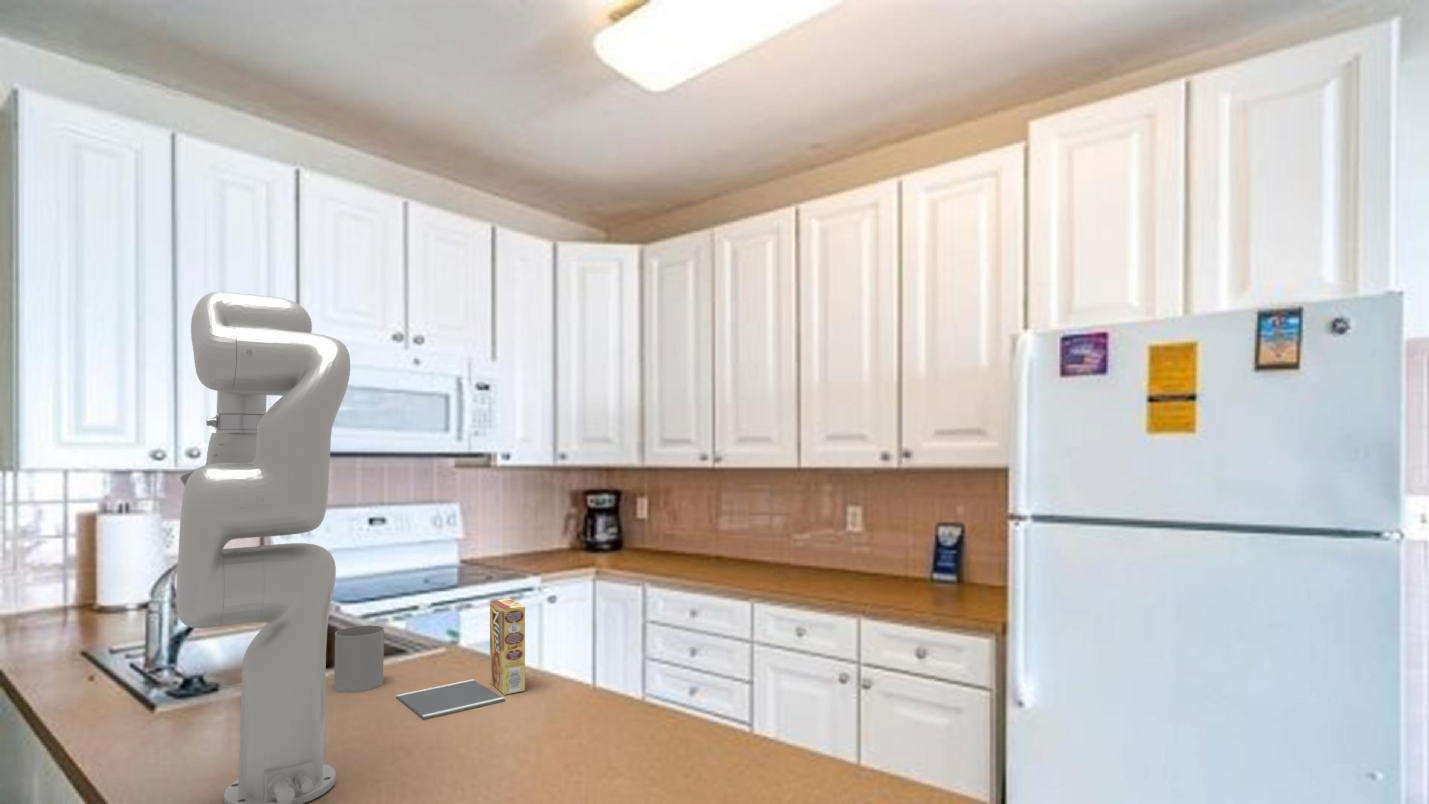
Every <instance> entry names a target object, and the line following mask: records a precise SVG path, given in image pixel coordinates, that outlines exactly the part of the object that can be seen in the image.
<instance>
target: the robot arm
mask: <svg viewBox="0 0 1429 804" xmlns="http://www.w3.org/2000/svg"><path fill="white" fill-rule="evenodd" d="M191 316H192V317H191V320H190V321H191V322H190V336H191V345H192V350H193V360H194V367H195V373H196V376H197V378H198V380H199V381H200V383H201V384H202V385H203V386H204V387H206V388H207V389H209V390H212V391H216V392H217V394H216V415H215V416H214V417H210V418H209V417H207V418H206V421H205V422H206V423H205V424H206V426H207V427H212V428H214V429H215V432H211V434H210V438H209V442H208V447H207V453H206V461H205V465H202V466H200V467H198V468H196V469H193V470H191V471H189V472H186V473H184V474H182V475H181V476H180V477H179V479H180V481H181V483H182V484H183V486H184V489H183V493H182V499H181V507H180V518H179V519H180V522H179V539H178V556H177V559H178V560H177V572H176V573H177V575H176V591H175V594H176V596H175V598H176V599H175V600H176V601H175V602H176V610H177V615H178V617H179V619H180V621H181V623H182V624H184V625H185V626H187V627H189V628H192V629H210V628H220V627H221V628H222V627H227V626H235V625H242V624H243V625H244V624H251V623H265V622H266V623H265V624H264V625H263V627H262V628H261V629H260V631H258V633H257V634H256V635H255V637H254V638H252V640H251V642H250V643H249V645H248V646H247V648H246V649H245V652H244V655H243V657H242V658H243V659H242V665H241V669H242V670H241V692H240V693H241V696H240V697H241V699H240V728H239V734H240V735H239V758H238V759H239V761H238V762H239V763H238V778H237V779H236V780H235V781H233V782H232V783H231V784H229V785H228V786H227V787H226V789H225V790H224V792H223V804H306V803H308V802H311V801H313V800H316V799H317V798H319V797H321V796H323V795H324V794H326V793H327V792H328V791H329V790H331V788H333V787H334V786H335V783H336V781H337V778H336V777H337V776H336V775H337V772H336V770H335V768H334V767H332V766H331V765H329V764H326V763H324V742H325V741H324V740H325V709H326V708H325V707H326V706H325V705H326V700H325V699H326V671H327V670H326V669H327V668H326V665H327V640H328V639H327V638H328V624H329V617H330V610H331V604H332V599H333V594H334V589H335V584H336V577H337V576H336V575H337V573H336V572H337V568H336V561H335V559H334V557H333V555H332V554H331V552H330V551H329V550H328V549H327V548H324V547H322V546H320V545H317V544H313V543H303V542H298V543H297V542H293V543H291V542H289V543H277V544H267V545H266V544H265V545H264V544H263V545H257V546H247V547H244V546H243V547H232V548H225V546H226V544H228V543H230V542H231V541H232V540H237V539H238V540H239V539H248V538H249V539H250V538H251V539H252V538H268V537H278V536H280V537H281V536H291V535H298V534H305V533H308V532H311V531H314V530H316V529H318V528H319V527H320V526H321V525H322V523H323V521H324V519H325V516H326V512H327V507H328V506H327V505H328V497H329V479H330V463H331V461H330V459H331V444H332V443H331V441H332V432H333V426H334V423H335V420H336V417H337V415H338V412H339V410H340V407H341V405H342V403H343V400H344V398H345V395H346V393H347V388H348V385H349V380H350V375H351V357H350V352H349V350H348V348H347V346H346V345H345V343H343V342H342V341H340V340H339V339H336V338H335V337H333V336H332V337H331V336H328V335H324V334H319V333H314V332H313V333H312V331H313V323H312V319H311V317H310V315H309V313H308V312H307V310H306V309H305V308H304V307H303V306H302V305H300V304H299V303H297V302H295V301H293V300H290V299H288V298H283V297H278V296H270V295H269V296H268V295H258V294H249V293H239V292H232V291H231V292H228V291H212V292H209V293H207V294H205V295H203V296H202V297H201V298H200V299H199V300H198V302H197V304H196V305H195V307H194V310H193V313H192V315H191ZM267 396H276V397H277V396H279V397H280V398H279V399H278V400H277V401H276V402H275V403H274V404H272V405H271V406H270V408H269V409H268V410H267V398H268V397H267Z"/></svg>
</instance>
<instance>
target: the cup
mask: <svg viewBox="0 0 1429 804" xmlns="http://www.w3.org/2000/svg"><path fill="white" fill-rule="evenodd" d="M384 650H385V627H384V626H380V625H370V624H369V625H357V626H356V625H355V626H349V627H345V628H341V629H339V630H337V631H335V634H334V668H333V669H334V671H333V673H334V675H333V676H334V677H333V690H334V691H335V692H338V693H346V694H347V693H349V694H350V693H360V692H366V691H369V690H375V689H376V688H379V687H380V686H382V685H384V661H385V659H384V658H385V656H384V654H385V651H384Z"/></svg>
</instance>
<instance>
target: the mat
mask: <svg viewBox="0 0 1429 804" xmlns="http://www.w3.org/2000/svg"><path fill="white" fill-rule="evenodd" d="M395 695H396V696H395V698H396V699H397V700H398V701H399V702H400V703H402V704H403V705H404V706H405V707H407V708H409V710H411V711H412V712H413V713H414V714H416V715H417V716H419V717H420V719H422V720H428V719H429V720H430V719H432V718H433V719H434V718H438V717H441V716H446V715H450V714H454V713H459V712H463V711H468V710H472V709H476V708H481V707H485V706H489V705H493V704H498V703H499V704H500V703H502V702H503V703H504V702H506V698H505V697H504V696H501V695H499V694H498V693H496V692H494V691H492V690H491V689H489V688H488V687H486V686H484V685H483V684H481V683H480V682H478V681H476V680H475V679H473V678H472V679H468V680H462V681H457V682H454V683H453V682H452V683H448V684H443V685H439V686H435V687H434V686H433V687H428V688H424V689H419V690H415V691H410V692H403V693H400V694H395Z"/></svg>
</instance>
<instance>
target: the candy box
mask: <svg viewBox="0 0 1429 804" xmlns="http://www.w3.org/2000/svg"><path fill="white" fill-rule="evenodd" d="M489 670H490V671H489V677H490V678H489V683H491V685H492V686H493V687H495V688H496V689H497V690H498V691H499V692H500V693H502V694H503V695H505V696H506V695H510V694H515V693H520V692H525V691H526V607H525V605H523V604H521V603H519V602H518V601H514V600H513V599H511V598H504V599H503V598H502V599H495V600H490V601H489Z"/></svg>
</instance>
